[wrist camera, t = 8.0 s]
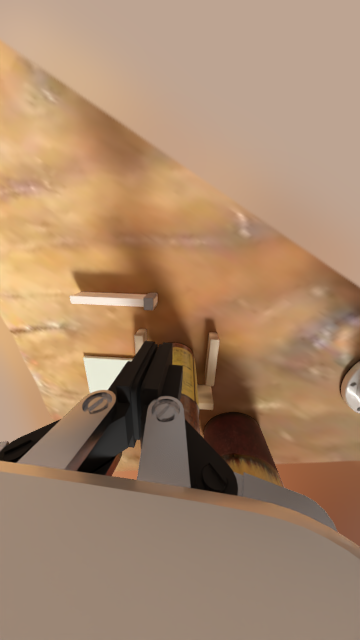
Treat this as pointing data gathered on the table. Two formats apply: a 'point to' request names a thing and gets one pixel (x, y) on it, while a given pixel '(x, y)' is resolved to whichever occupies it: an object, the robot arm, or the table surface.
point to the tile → (103, 371)
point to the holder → (211, 361)
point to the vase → (242, 445)
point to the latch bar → (116, 299)
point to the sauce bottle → (187, 384)
